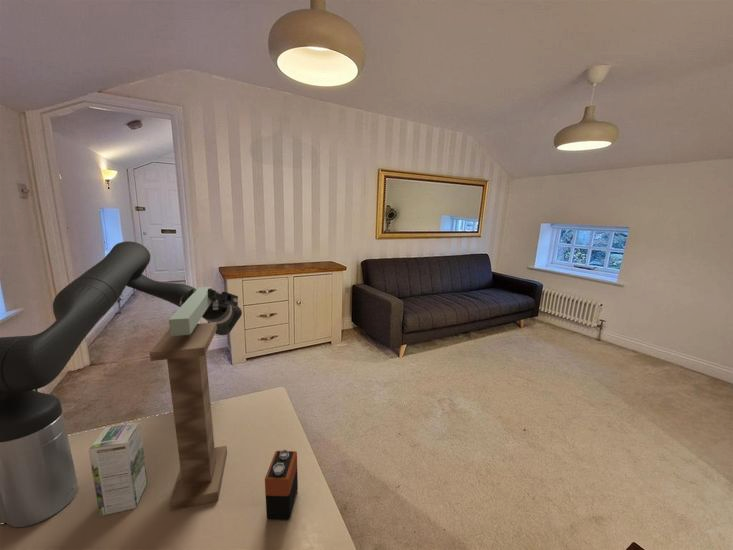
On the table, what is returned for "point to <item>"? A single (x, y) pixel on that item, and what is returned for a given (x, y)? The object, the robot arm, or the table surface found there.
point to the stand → (192, 416)
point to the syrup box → (118, 468)
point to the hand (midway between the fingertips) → (200, 293)
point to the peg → (190, 313)
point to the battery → (281, 485)
